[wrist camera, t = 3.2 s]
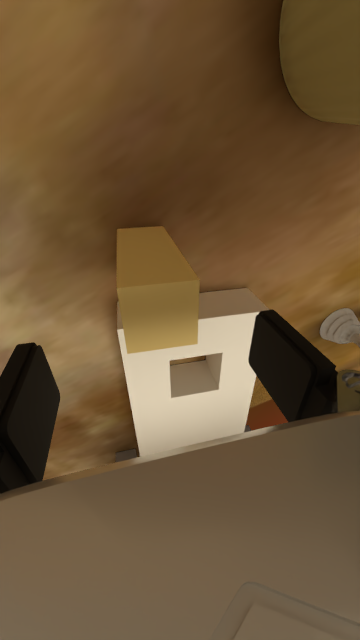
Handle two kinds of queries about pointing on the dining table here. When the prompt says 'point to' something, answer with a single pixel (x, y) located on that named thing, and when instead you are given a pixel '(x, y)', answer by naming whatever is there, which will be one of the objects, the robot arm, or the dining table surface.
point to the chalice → (341, 327)
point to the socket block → (195, 377)
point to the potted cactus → (322, 57)
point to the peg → (155, 291)
